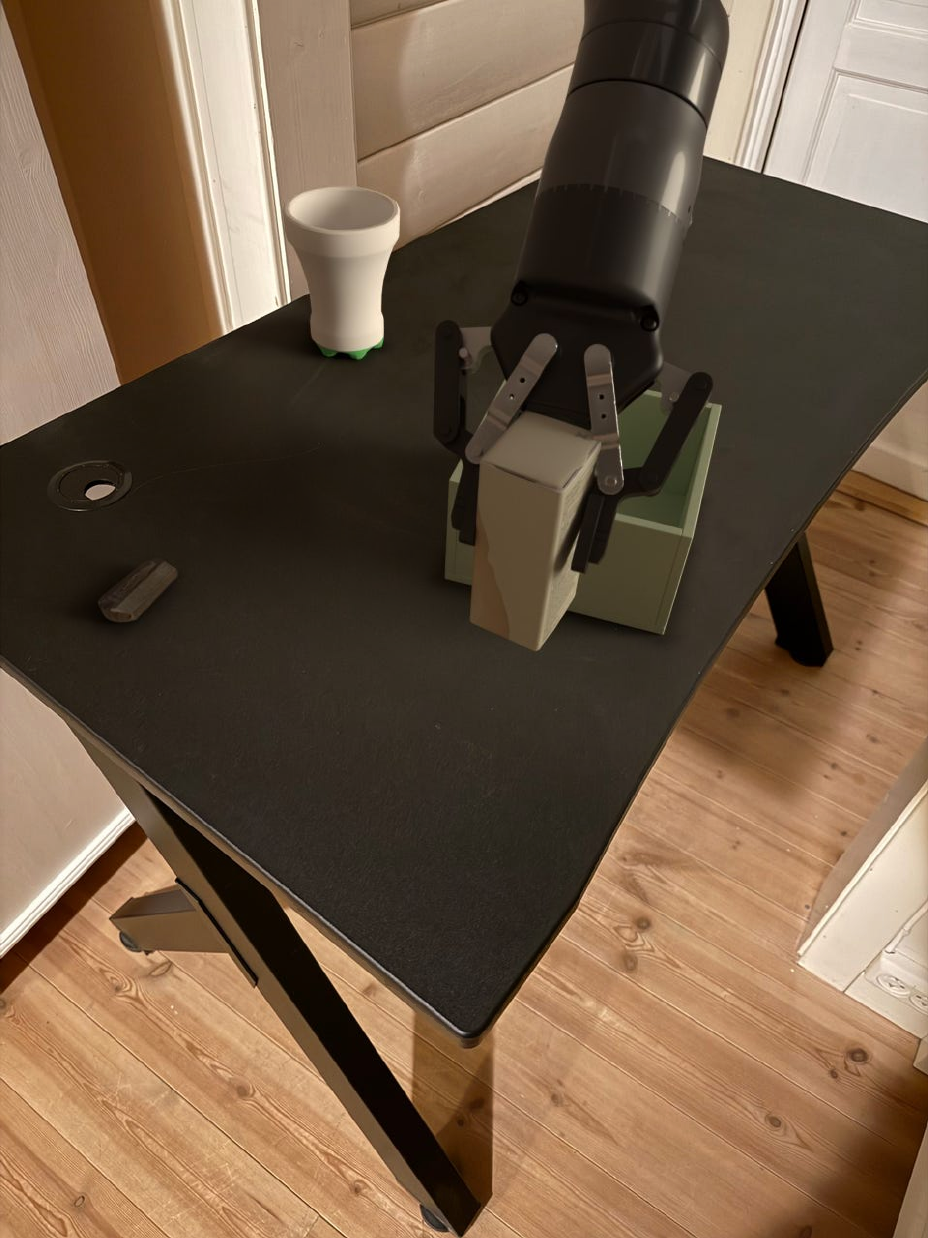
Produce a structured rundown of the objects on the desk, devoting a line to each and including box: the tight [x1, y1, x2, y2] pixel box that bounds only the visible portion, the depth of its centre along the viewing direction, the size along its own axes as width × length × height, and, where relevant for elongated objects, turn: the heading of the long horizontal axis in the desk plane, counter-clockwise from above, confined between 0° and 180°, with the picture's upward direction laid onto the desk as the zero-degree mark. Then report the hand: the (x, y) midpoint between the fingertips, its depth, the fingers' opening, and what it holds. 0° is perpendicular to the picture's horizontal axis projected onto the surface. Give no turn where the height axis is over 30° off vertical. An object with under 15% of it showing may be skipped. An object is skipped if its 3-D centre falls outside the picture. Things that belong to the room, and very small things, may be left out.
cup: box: [282, 185, 401, 360], centre depth 91 cm, size 11×11×14 cm
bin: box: [444, 379, 723, 636], centre depth 73 cm, size 18×18×10 cm
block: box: [97, 557, 179, 623], centre depth 68 cm, size 4×6×2 cm, turn 153°
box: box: [469, 411, 601, 652], centre depth 46 cm, size 5×4×11 cm
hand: (523, 556), depth 44 cm, fingers closed on box, 5 cm apart
